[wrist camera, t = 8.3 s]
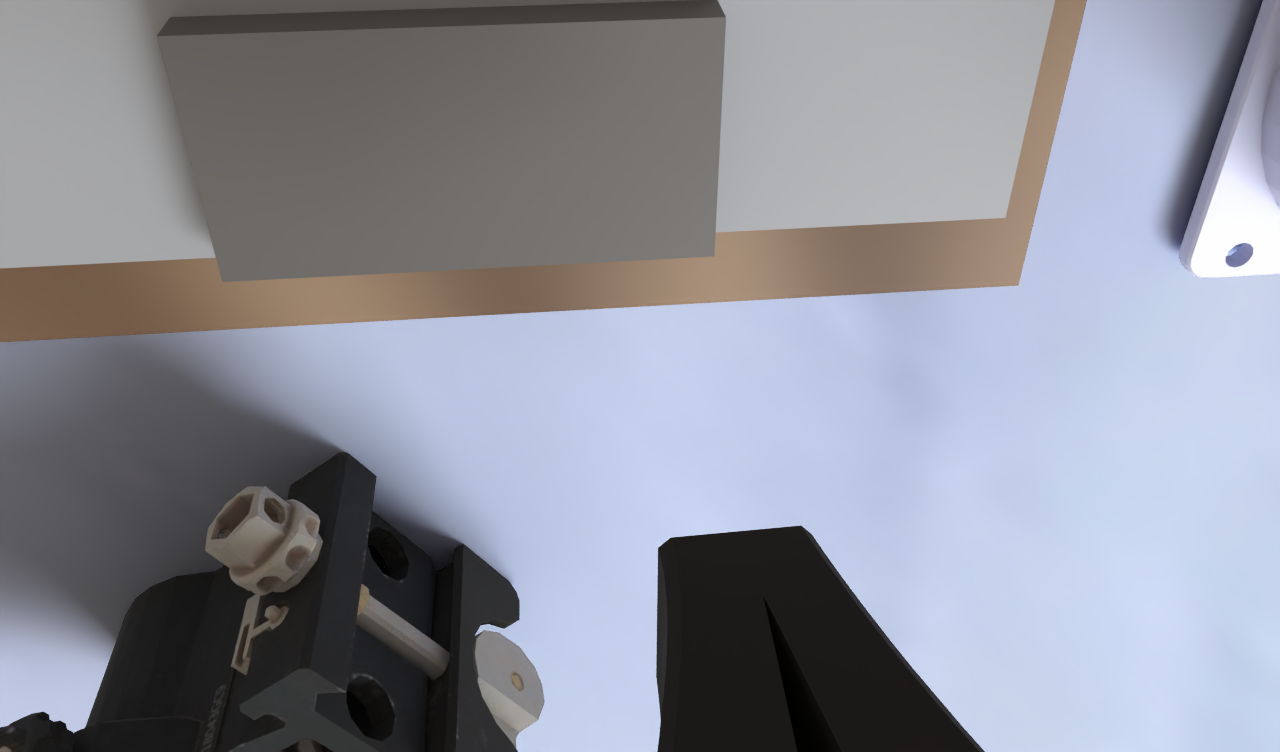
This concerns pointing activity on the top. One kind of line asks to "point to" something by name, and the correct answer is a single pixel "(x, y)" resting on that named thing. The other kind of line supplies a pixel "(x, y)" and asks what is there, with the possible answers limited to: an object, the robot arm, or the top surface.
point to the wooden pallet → (566, 265)
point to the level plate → (495, 127)
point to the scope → (310, 642)
